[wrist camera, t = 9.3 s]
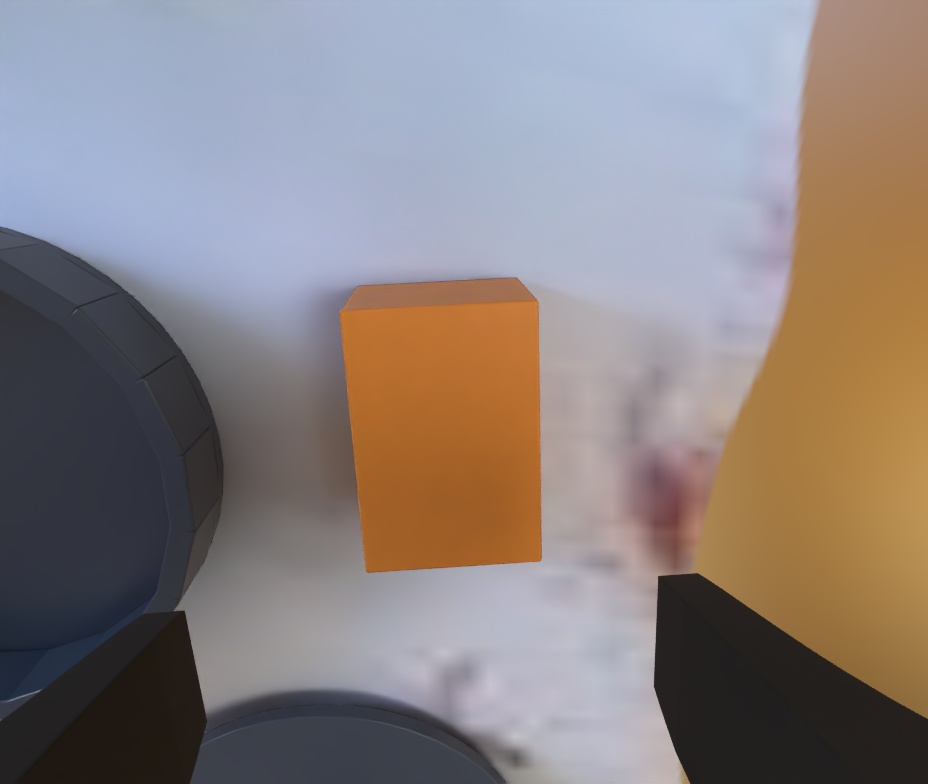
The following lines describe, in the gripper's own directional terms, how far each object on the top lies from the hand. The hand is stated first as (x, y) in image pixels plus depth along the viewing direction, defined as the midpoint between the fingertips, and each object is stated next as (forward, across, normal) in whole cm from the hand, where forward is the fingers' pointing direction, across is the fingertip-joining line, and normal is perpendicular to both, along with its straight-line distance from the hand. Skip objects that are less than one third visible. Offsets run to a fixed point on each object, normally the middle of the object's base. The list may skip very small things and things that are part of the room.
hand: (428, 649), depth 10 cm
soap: (+8, 0, -2) cm, 8 cm away
